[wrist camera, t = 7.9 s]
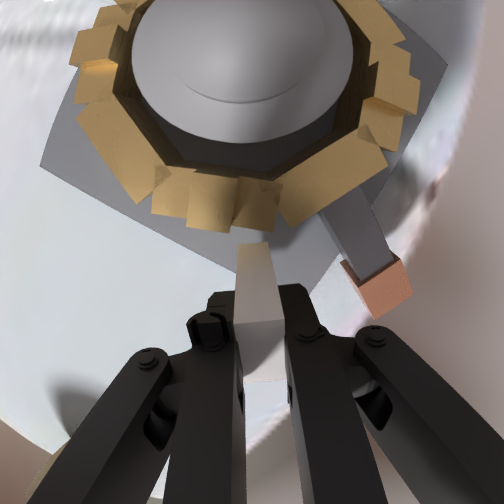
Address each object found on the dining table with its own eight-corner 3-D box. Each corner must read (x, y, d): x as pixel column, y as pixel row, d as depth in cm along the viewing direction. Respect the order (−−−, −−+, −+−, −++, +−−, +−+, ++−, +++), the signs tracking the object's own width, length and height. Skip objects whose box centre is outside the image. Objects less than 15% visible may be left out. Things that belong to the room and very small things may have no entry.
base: (194, -62, 8) (175, -125, 1) (438, 66, 12) (517, 51, 5) (49, 163, 14) (-35, 187, 7) (297, 295, 18) (324, 384, 11)
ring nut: (76, 71, 11) (29, 58, 6) (274, -51, 8) (282, -93, 4) (278, 335, 17) (287, 387, 13) (450, 222, 15) (494, 246, 10)
